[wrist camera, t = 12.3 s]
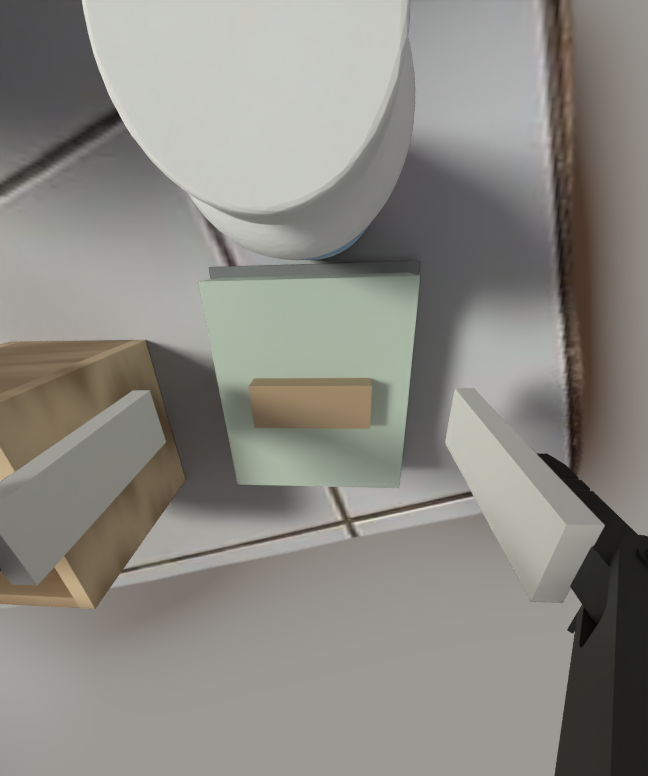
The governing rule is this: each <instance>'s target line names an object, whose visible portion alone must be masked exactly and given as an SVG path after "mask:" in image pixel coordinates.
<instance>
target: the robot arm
mask: <svg viewBox="0 0 648 776" xmlns="http://www.w3.org/2000/svg"><path fill="white" fill-rule="evenodd" d="M165 443H166V440H165V437H164V434H163V431H162V427H161V424H160V421H159V418H158V415H157V412H156V409H155V406H154V402H153V399H152V396H151V393H150V390H133V391H131V392H130V393H129V394H127V395H126V396H124V397H123V398H121V399H120V400H118V401H117V402H116V403H114V404H113V405H111V406H110V407H108V408H107V409H105V410H104V411H102V412H101V413H100V414H98V415H97V416H95V417H94V418H92V419H91V420H89V421H88V422H87V423H85V424H84V425H82V426H81V427H79V428H78V429H76V430H75V431H73V432H72V433H71V434H69V435H68V436H66V437H65V438H63V439H62V440H60V441H59V442H58V443H56V444H55V445H53V446H52V447H50V448H49V449H47V450H46V451H44V452H43V453H42V454H40V455H39V456H37V457H36V458H34V459H33V460H31V461H29V462H28V463H26V464H25V465H24V466H22V467H21V468H19V469H18V470H16V471H15V472H13V474H11V475H9V476H8V477H6V478H5V479H3V480H2V481H0V571H1V572H2V573H3V574H4V575H5V577H6V578H7V579H8V580H9V582H10V583H11V584H13V585H39V583H40V582H41V581H42V580H43V579H44V578H45V577H46V576H47V574H48V573H49V572H50V571H51V570H52V569H53V568H54V567H55V566H56V564H57V563H58V562H59V561H60V560H61V559H62V558H63V557H64V555H65V554H66V553H67V552H68V551H69V550H70V549H71V548H72V547H73V545H74V544H75V543H76V542H77V541H78V540H79V539H80V538H81V536H82V535H83V534H84V533H85V532H86V531H87V530H88V529H89V528H90V526H91V525H92V524H93V523H94V522H95V521H96V520H97V519H98V517H99V516H100V515H101V514H102V513H103V512H104V511H105V510H106V509H107V507H108V506H109V505H110V504H111V503H112V502H113V501H114V500H115V498H116V497H117V496H118V495H119V494H120V493H121V492H122V491H123V490H124V488H125V487H126V486H127V485H128V484H129V483H130V482H131V481H132V479H133V478H134V477H135V476H136V475H137V474H138V473H139V472H140V471H141V469H142V468H143V467H144V466H145V465H146V464H147V463H148V462H149V460H150V459H151V458H152V457H153V456H154V455H155V454H156V453H157V452H158V450H159V449H160V448H161V447H162V446H163V445H164V444H165ZM445 444H446V446H447V448H448V449H449V451H450V453H451V455H452V457H453V459H454V460H455V462H456V464H457V466H458V468H459V470H460V472H461V473H462V475H463V477H464V479H465V481H466V483H467V485H468V486H469V488H470V490H471V492H472V494H473V496H474V498H475V499H476V501H477V503H478V505H479V507H480V509H481V511H482V512H483V514H484V516H485V518H486V520H487V522H488V523H489V525H490V527H491V529H492V530H493V533H494V535H495V536H496V538H497V540H498V542H499V544H500V545H501V548H502V549H503V551H504V553H505V555H506V557H507V559H508V561H509V562H510V564H511V566H512V568H513V570H514V572H515V573H516V575H517V577H518V579H519V581H520V582H521V584H522V586H523V588H524V590H525V592H526V594H527V596H528V598H529V599H530V601H531V602H552V603H563V601H564V599H565V598H566V596H567V594H568V592H569V590H570V589H571V588H572V590H573V591H574V593H575V594H576V595H577V597H578V599H579V600H580V602H581V603H582V606H581V607H580V609H579V611H578V612H577V614H576V616H575V617H574V619H573V621H572V622H571V624H570V626H569V628H568V629H567V630H568V631H569V632H571V633H574V631H575V635H574V642H573V649H572V656H571V663H570V670H569V678H568V684H567V691H566V698H565V705H564V712H563V720H562V727H561V734H560V741H559V748H558V755H557V762H556V769H555V776H648V536H644V535H638V534H637V533H636V532H634V531H633V529H631V528H630V527H629V526H628V525H627V524H626V523H625V522H624V521H623V520H622V519H621V518H620V517H619V516H618V515H617V514H616V513H615V512H614V511H613V510H612V509H611V508H610V507H609V506H607V505H606V504H605V503H604V502H603V501H602V500H601V499H600V498H599V497H598V496H597V495H596V494H595V493H594V492H593V491H590V488H589V487H588V486H587V485H586V484H585V483H583V481H582V480H579V479H578V477H577V476H576V475H575V474H574V473H573V472H572V471H571V470H570V469H569V468H568V467H567V466H566V465H565V464H563V463H562V462H560V461H558V460H557V459H555V458H553V457H552V456H550V455H548V454H536V453H535V452H534V451H533V450H532V449H531V448H530V447H529V445H528V444H527V443H526V442H525V441H524V440H523V439H522V438H521V437H520V436H519V435H518V434H517V433H516V432H515V431H514V430H513V429H512V428H511V427H510V426H509V425H508V423H507V422H506V421H505V420H504V419H503V418H502V417H501V416H500V415H499V414H498V413H497V412H496V411H495V410H494V409H493V408H492V407H491V406H490V405H489V404H488V403H487V402H486V400H485V399H484V398H483V397H482V396H481V395H480V394H479V393H478V392H477V391H476V390H475V389H474V388H455V390H454V396H453V401H452V407H451V412H450V418H449V424H448V429H447V435H446V440H445Z"/></svg>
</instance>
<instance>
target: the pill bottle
mask: <svg viewBox="0 0 648 776" xmlns="http://www.w3.org/2000/svg"><path fill="white" fill-rule="evenodd" d="M82 4H83V10H84V15H85V20H86V25H87V30H88V34H89V38H90V42H91V46H92V50H93V53H94V56H95V59H96V62H97V65H98V68H99V71H100V73H101V76H102V78H103V81H104V83H105V86H106V89H107V91H108V94H109V96H110V98H111V100H112V102H113V103H114V105H115V107H116V109H117V111H118V113H119V115H120V117H121V118H122V120H123V122H124V124H125V126H126V128H127V129H128V131H129V132H130V134H131V135H132V137H133V138H134V139H135V140H136V142H137V143H138V144H139V145H140V147H141V148H142V149H143V151H144V152H145V153H146V155H147V156H148V157H149V158H150V159H151V160H152V162H153V163H154V164H155V165H156V166H157V167H158V168H159V169H160V170H161V171H162V172H163V173H164V174H165V175H166V176H167V177H168V178H169V179H171V180H172V181H173V182H174V183H176V184H177V185H178V186H179V187H180V188H182V189H183V190H184V191H186V192H187V193H188V195H189V196H190V198H191V199H192V200H193V202H194V203H195V205H196V206H197V207H198V209H199V210H200V211H201V212H202V213H203V215H204V216H205V217H206V218H207V219H208V220H209V221H210V222H211V223H212V224H213V225H214V226H215V227H216V228H217V229H218V230H219V231H220V232H222V233H223V234H224V235H225V236H227V237H228V238H230V239H231V240H232V241H234V242H235V243H237V244H239V245H241V246H242V247H244V248H246V249H248V250H251V251H253V252H256V253H258V254H261V255H265V256H269V257H273V258H279V259H289V260H309V259H324V258H329V257H332V256H334V255H337V254H339V253H341V252H343V251H344V250H346V249H347V248H349V247H350V246H351V245H353V244H354V243H355V242H356V241H357V240H358V239H359V238H360V237H361V236H362V235H363V233H364V232H365V231H366V230H367V228H368V227H369V225H370V224H371V223H372V222H373V220H374V219H375V218H376V216H377V215H378V214H379V212H380V211H381V210H382V208H383V207H384V205H385V203H386V202H387V200H388V199H389V197H390V195H391V193H392V191H393V189H394V187H395V185H396V183H397V181H398V179H399V176H400V174H401V171H402V169H403V166H404V163H405V160H406V157H407V153H408V149H409V145H410V141H411V136H412V129H413V123H414V111H415V77H414V67H413V60H412V54H411V49H410V44H409V39H408V32H409V21H410V0H82Z"/></svg>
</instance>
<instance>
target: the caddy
mask: <svg viewBox="0 0 648 776" xmlns="http://www.w3.org/2000/svg"><path fill="white" fill-rule="evenodd" d="M133 390H150V393H151V396H152V399H153V402H154V406H155V409H156V412H157V415H158V418H159V421H160V424H161V427H162V431H163V434H164V437H165V440H166V443H165V444H164V445H163V446H162V447H161V448H160V449H159V450H158V452H157V453H156V454H155V455H154V456H153V457H152V458H151V459H150V460H149V462H148V463H147V464H146V465H145V466H144V467H143V468H142V469H141V471H140V472H139V473H138V474H137V475H136V476H135V477H134V478H133V479H132V481H131V482H130V483H129V484H128V485H127V486H126V487H125V488H124V490H123V491H122V492H121V493H120V494H119V495H118V496H117V497H116V498H115V500H114V501H113V502H112V503H111V504H110V505H109V506H108V507H107V509H106V510H105V511H104V512H103V513H102V514H101V515H100V516H99V517H98V519H97V520H96V521H95V522H94V523H93V524H92V525H91V526H90V528H89V529H88V530H87V531H86V532H85V533H84V534H83V535H82V536H81V538H80V539H79V540H78V541H77V542H76V543H75V544H74V545H73V547H72V548H71V549H70V550H69V551H68V552H67V553H66V554H65V555H64V557H63V558H62V559H61V560H60V561H59V562H58V563H57V564H56V566H55V567H54V568H53V569H52V570H51V571H50V572H49V573H48V574H47V576H46V577H45V578H44V579H43V580H42V581H41V582H40V583H39V585H13V584H11V583H10V582H9V580H8V579H7V578H6V577H5V575H4V574H3V573H2V572H1V571H0V604H13V605H32V606H51V607H71V608H89V609H95V608H96V607H97V606H98V604H99V602H100V601H101V599H102V598H103V597H104V596H105V594H106V592H107V591H108V590H109V588H110V587H111V586H112V584H113V583H114V581H115V580H116V578H117V577H118V576H119V574H120V573H121V571H122V570H123V569H124V567H125V566H126V564H127V563H128V561H129V560H130V559H131V557H132V556H133V554H134V553H135V551H136V550H137V549H138V547H139V546H140V544H141V543H142V542H143V540H144V539H145V537H146V536H147V534H148V533H149V532H150V530H151V529H152V527H153V526H154V524H155V523H156V522H157V520H158V519H159V517H160V516H161V514H162V513H163V512H164V510H165V509H166V507H167V506H168V505H169V503H170V502H171V500H172V499H173V497H174V496H175V495H176V493H177V492H178V490H179V489H180V487H181V486H182V485H183V483H184V482H185V476H184V473H183V469H182V466H181V462H180V459H179V455H178V452H177V448H176V445H175V441H174V438H173V434H172V431H171V427H170V424H169V420H168V417H167V413H166V410H165V406H164V403H163V399H162V396H161V392H160V389H159V386H158V382H157V379H156V375H155V372H154V368H153V365H152V361H151V358H150V354H149V351H148V347H147V344H146V340H110V341H36V342H7V343H3V344H0V480H1V481H2V480H3V479H5V478H6V477H8V476H9V475H11V474H13V472H15V471H16V470H18V469H19V468H21V467H22V466H24V465H25V464H26V463H28V462H29V461H31V460H33V459H34V458H36V457H37V456H39V455H40V454H42V453H43V452H44V451H46V450H47V449H49V448H50V447H52V446H53V445H55V444H56V443H58V442H59V441H60V440H62V439H63V438H65V437H66V436H68V435H69V434H71V433H72V432H73V431H75V430H76V429H78V428H79V427H81V426H82V425H84V424H85V423H87V422H88V421H89V420H91V419H92V418H94V417H95V416H97V415H98V414H100V413H101V412H102V411H104V410H105V409H107V408H108V407H110V406H111V405H113V404H114V403H116V402H117V401H118V400H120V399H121V398H123V397H124V396H126V395H127V394H129V393H130V392H131V391H133Z"/></svg>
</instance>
